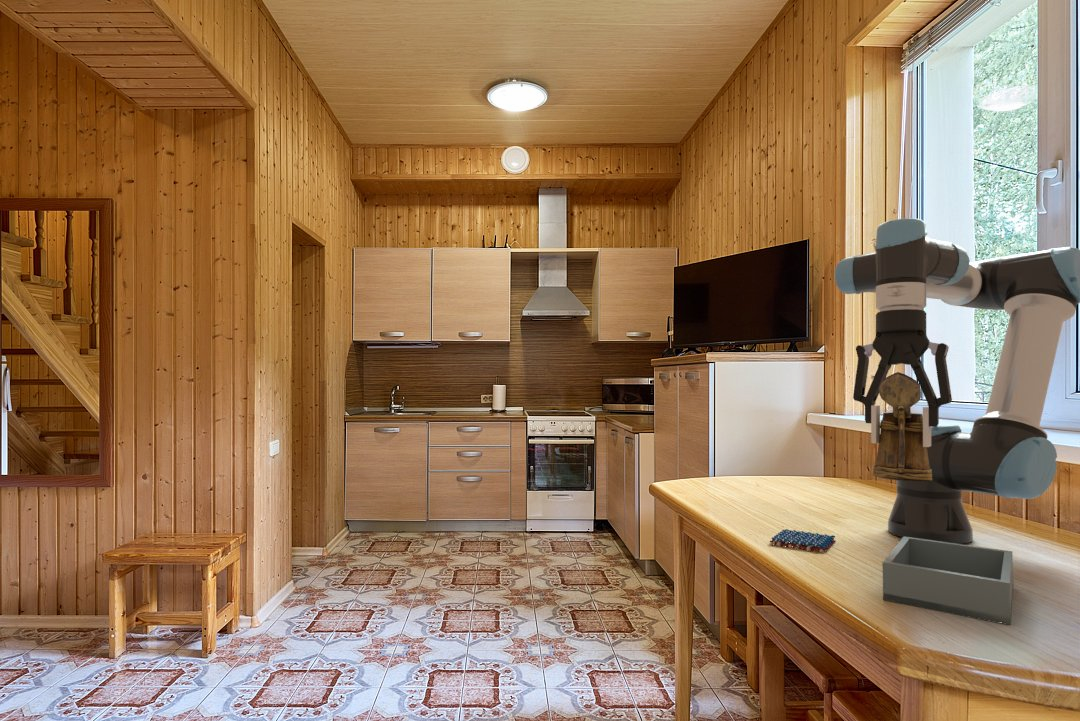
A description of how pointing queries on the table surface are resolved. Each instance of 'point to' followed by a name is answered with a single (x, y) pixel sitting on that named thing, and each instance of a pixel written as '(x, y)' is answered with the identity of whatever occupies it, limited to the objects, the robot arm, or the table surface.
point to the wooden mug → (901, 433)
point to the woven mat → (803, 540)
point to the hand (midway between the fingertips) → (900, 444)
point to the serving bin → (950, 578)
